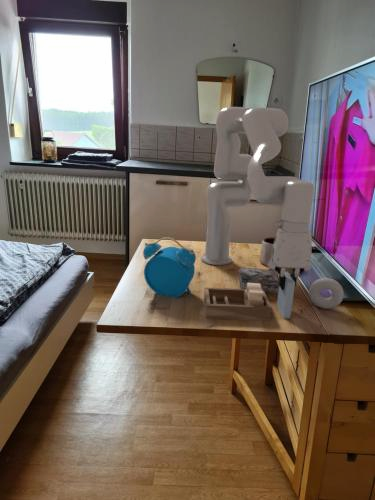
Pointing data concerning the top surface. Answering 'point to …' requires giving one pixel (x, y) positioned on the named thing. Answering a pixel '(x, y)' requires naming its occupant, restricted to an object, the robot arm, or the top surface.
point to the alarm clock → (169, 268)
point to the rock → (259, 279)
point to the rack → (233, 305)
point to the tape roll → (326, 284)
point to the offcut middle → (253, 302)
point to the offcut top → (254, 291)
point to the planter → (266, 250)
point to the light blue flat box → (286, 297)
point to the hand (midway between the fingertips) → (286, 287)
